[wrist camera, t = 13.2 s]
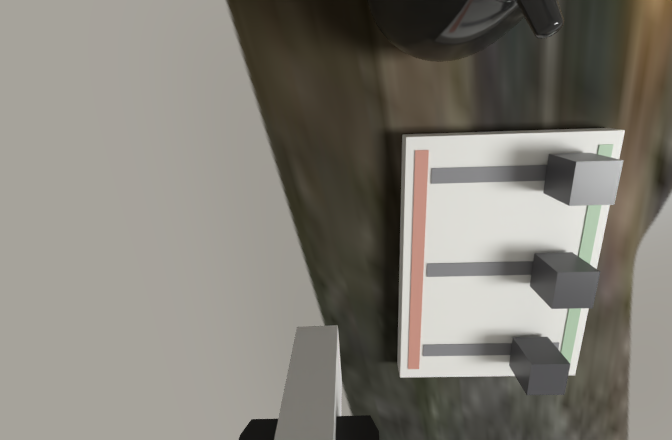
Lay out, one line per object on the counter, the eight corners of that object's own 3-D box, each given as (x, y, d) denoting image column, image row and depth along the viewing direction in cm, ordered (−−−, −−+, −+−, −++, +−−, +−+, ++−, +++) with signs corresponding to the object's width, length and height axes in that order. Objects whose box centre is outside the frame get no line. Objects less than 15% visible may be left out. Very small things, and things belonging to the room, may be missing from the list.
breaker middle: (534, 253, 30) (557, 272, 27) (572, 252, 30) (600, 271, 27) (529, 286, 31) (551, 308, 28) (566, 285, 31) (592, 308, 28)
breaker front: (548, 153, 28) (576, 161, 25) (590, 152, 28) (623, 160, 24) (543, 193, 29) (569, 205, 25) (583, 191, 29) (614, 204, 25)
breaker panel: (402, 134, 30) (406, 137, 28) (606, 127, 30) (626, 130, 28) (397, 362, 37) (400, 378, 35) (562, 360, 36) (575, 375, 34)
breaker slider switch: (512, 337, 33) (531, 364, 30) (547, 336, 33) (570, 363, 30) (509, 365, 34) (526, 394, 31) (542, 365, 34) (564, 394, 30)
